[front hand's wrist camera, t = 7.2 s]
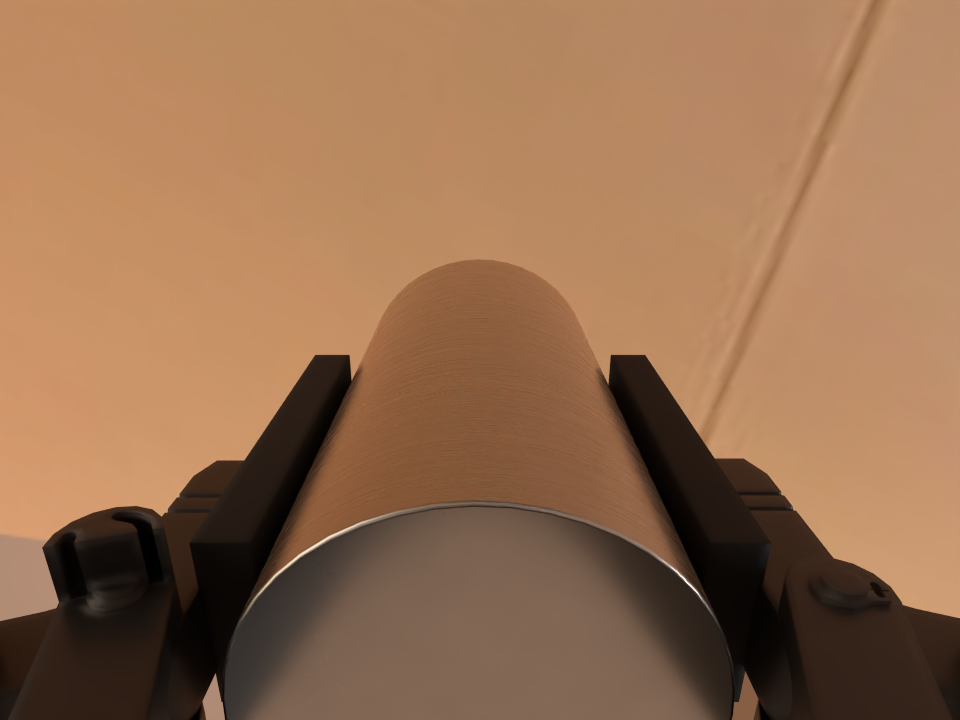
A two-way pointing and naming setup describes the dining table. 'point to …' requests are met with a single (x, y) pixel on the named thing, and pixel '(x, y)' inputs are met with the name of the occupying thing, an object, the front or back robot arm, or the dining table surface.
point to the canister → (478, 536)
